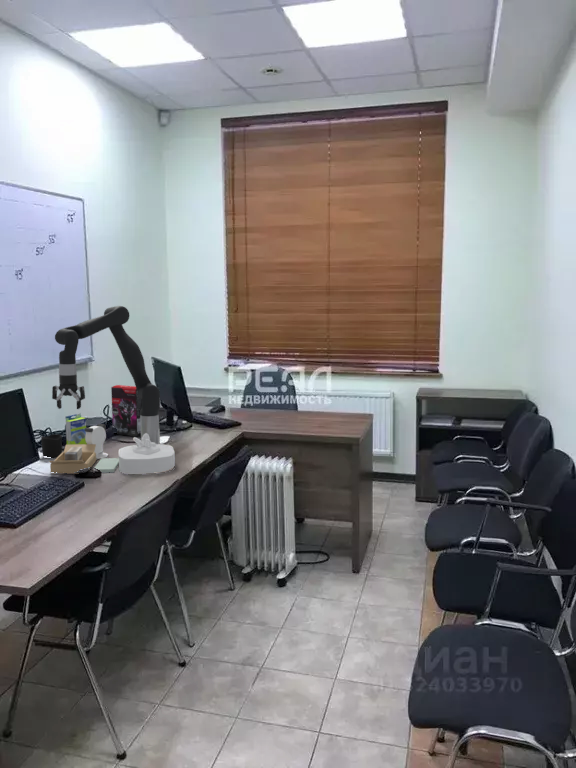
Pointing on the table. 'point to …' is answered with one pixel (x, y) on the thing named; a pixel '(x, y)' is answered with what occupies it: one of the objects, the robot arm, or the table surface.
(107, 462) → the board
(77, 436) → the box
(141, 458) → the tissue box
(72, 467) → the carton
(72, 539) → the table surface
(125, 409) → the graphics card box
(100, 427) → the white security camera
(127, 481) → the table surface
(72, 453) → the block
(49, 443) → the pen holder
